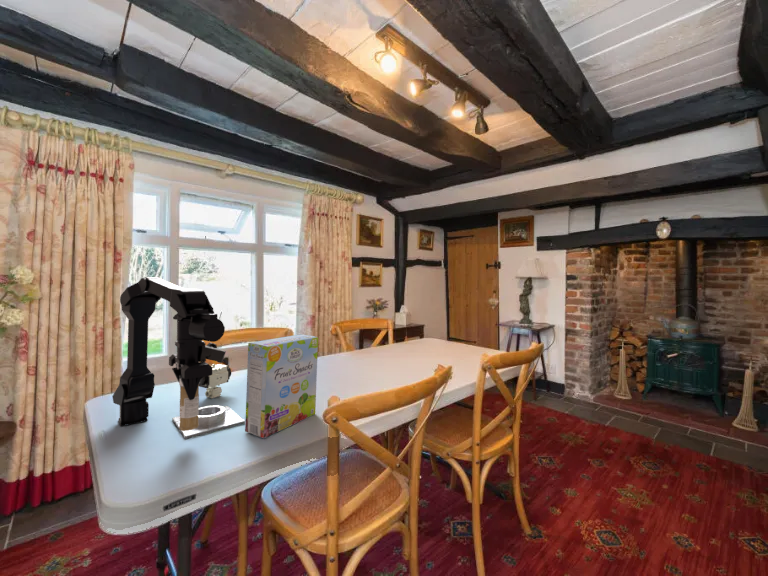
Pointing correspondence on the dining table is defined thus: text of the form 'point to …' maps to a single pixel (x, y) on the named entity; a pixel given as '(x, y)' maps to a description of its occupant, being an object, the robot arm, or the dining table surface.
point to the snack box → (280, 383)
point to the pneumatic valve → (215, 380)
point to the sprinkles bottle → (188, 410)
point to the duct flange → (211, 420)
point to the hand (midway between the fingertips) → (189, 397)
